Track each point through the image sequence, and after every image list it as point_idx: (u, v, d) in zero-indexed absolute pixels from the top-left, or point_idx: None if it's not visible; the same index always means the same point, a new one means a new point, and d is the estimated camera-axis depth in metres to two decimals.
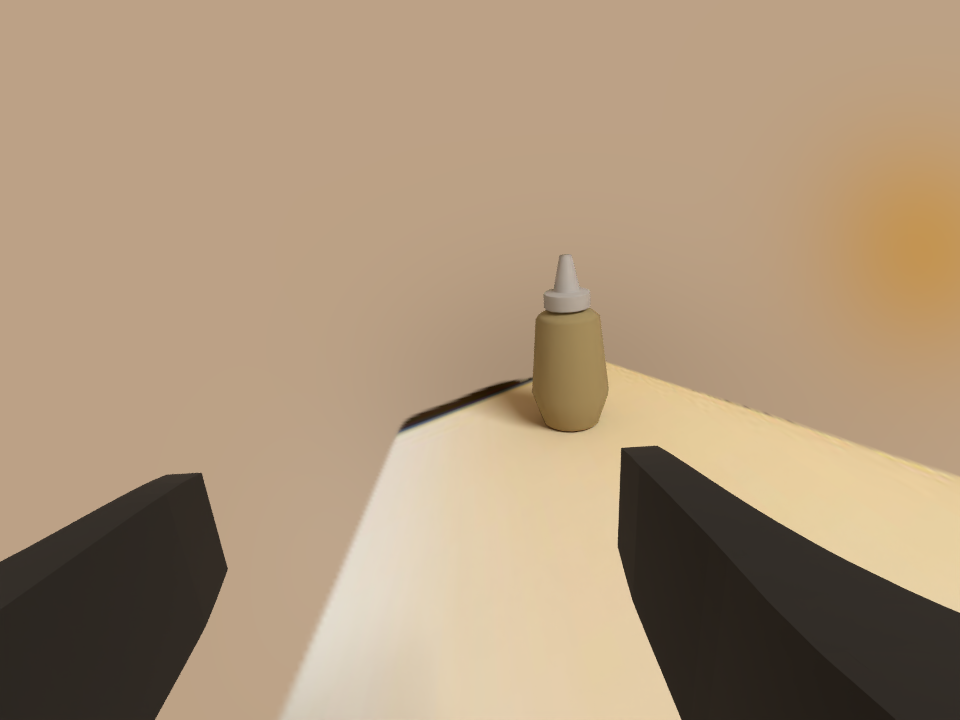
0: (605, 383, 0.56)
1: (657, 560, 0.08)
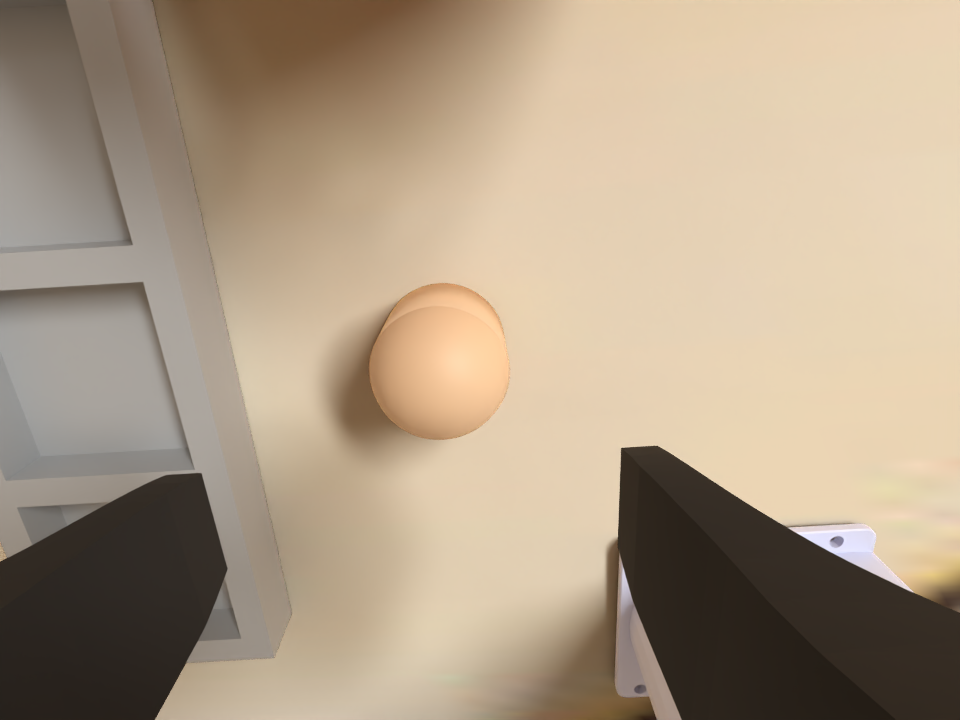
0: None
1: (657, 560, 0.08)
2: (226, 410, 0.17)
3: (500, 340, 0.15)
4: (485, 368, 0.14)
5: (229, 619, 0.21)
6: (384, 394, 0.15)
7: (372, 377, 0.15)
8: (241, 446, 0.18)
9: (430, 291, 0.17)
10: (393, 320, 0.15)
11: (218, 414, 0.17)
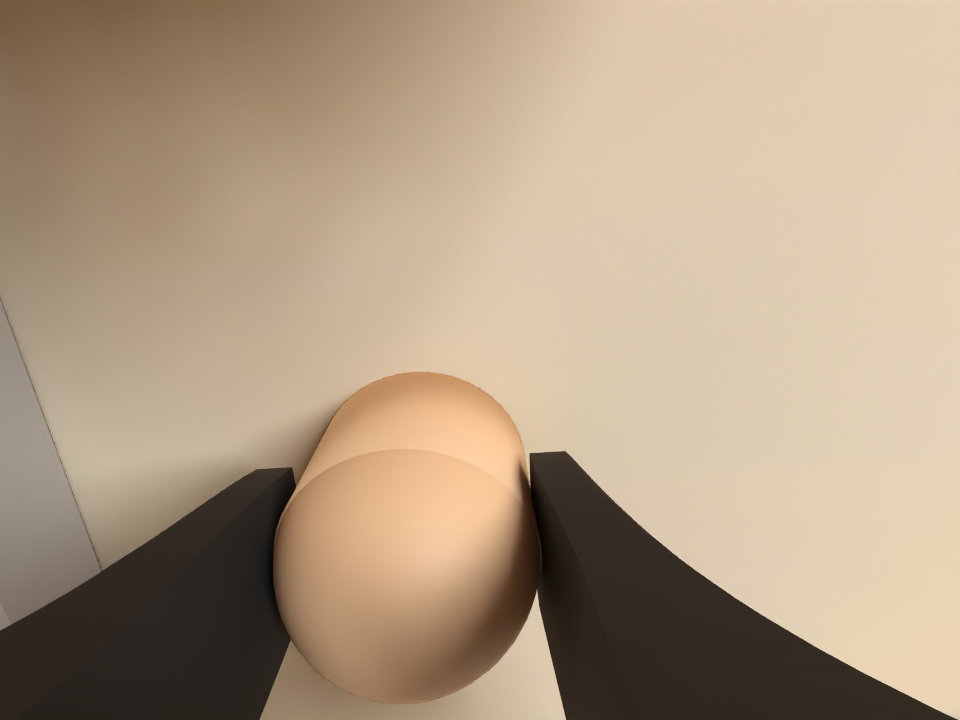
0: None
1: (548, 566, 0.08)
2: (47, 591, 0.10)
3: (525, 508, 0.08)
4: (497, 586, 0.07)
5: None
6: (293, 632, 0.07)
7: (274, 586, 0.08)
8: None
9: (395, 396, 0.09)
10: (316, 473, 0.08)
11: (23, 608, 0.10)
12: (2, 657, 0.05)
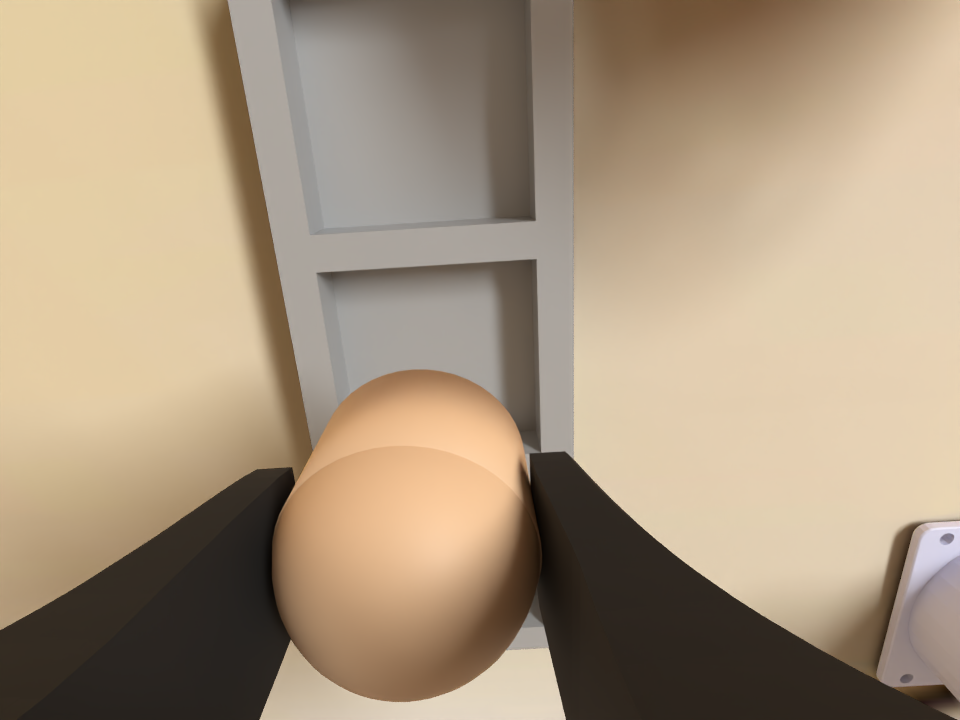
0: None
1: (548, 567, 0.08)
2: None
3: (525, 505, 0.08)
4: (497, 583, 0.07)
5: None
6: (292, 630, 0.07)
7: (273, 584, 0.08)
8: None
9: (394, 393, 0.09)
10: (315, 470, 0.08)
11: None
12: (2, 656, 0.05)
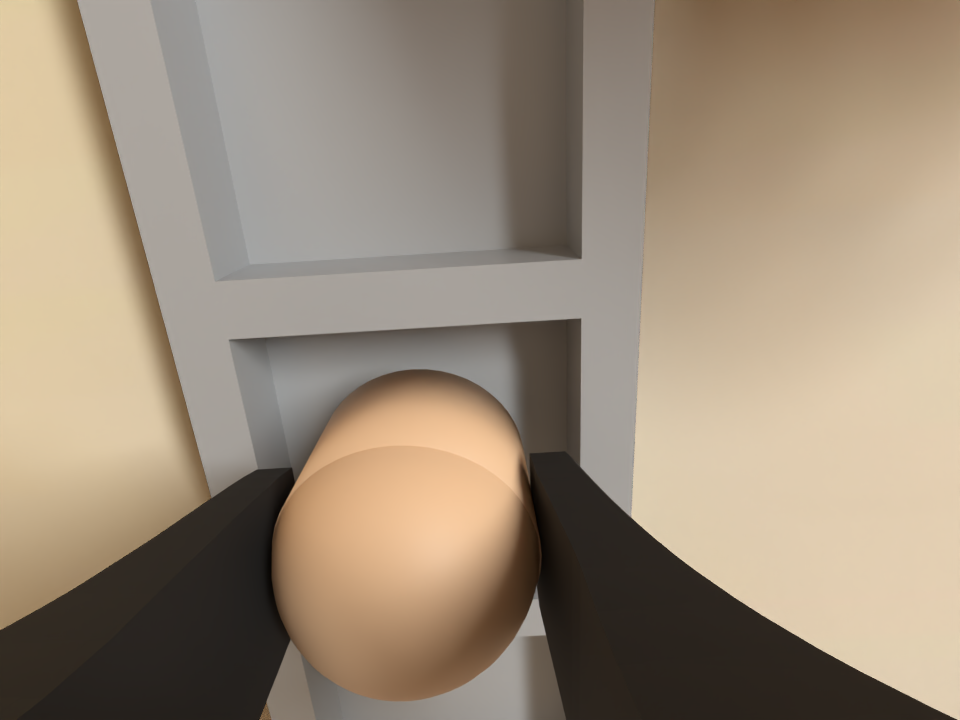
0: None
1: (549, 567, 0.08)
2: None
3: (524, 505, 0.08)
4: (496, 583, 0.07)
5: None
6: (291, 630, 0.07)
7: (273, 583, 0.08)
8: None
9: (394, 393, 0.09)
10: (315, 470, 0.08)
11: None
12: (2, 657, 0.05)
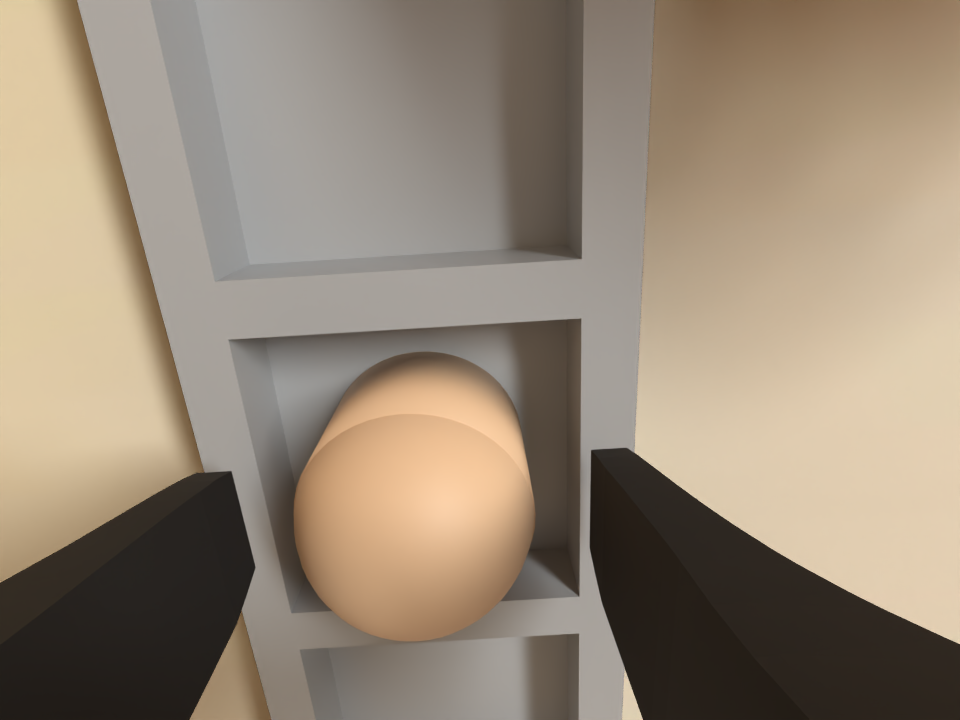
0: None
1: (621, 562, 0.08)
2: None
3: (520, 468, 0.09)
4: (495, 533, 0.08)
5: None
6: (313, 576, 0.08)
7: (295, 537, 0.09)
8: None
9: (402, 371, 0.10)
10: (332, 436, 0.09)
11: None
12: None
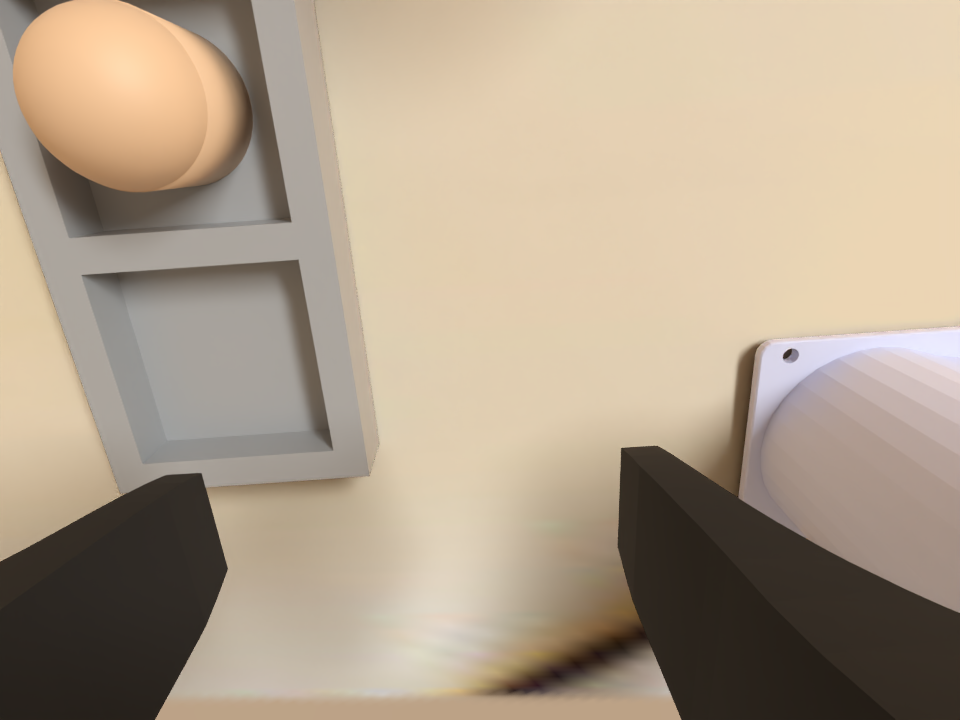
0: None
1: (657, 560, 0.08)
2: (326, 156, 0.15)
3: (186, 50, 0.12)
4: (143, 64, 0.11)
5: (315, 438, 0.18)
6: (21, 104, 0.11)
7: None
8: (338, 212, 0.16)
9: None
10: None
11: (321, 151, 0.14)
12: None
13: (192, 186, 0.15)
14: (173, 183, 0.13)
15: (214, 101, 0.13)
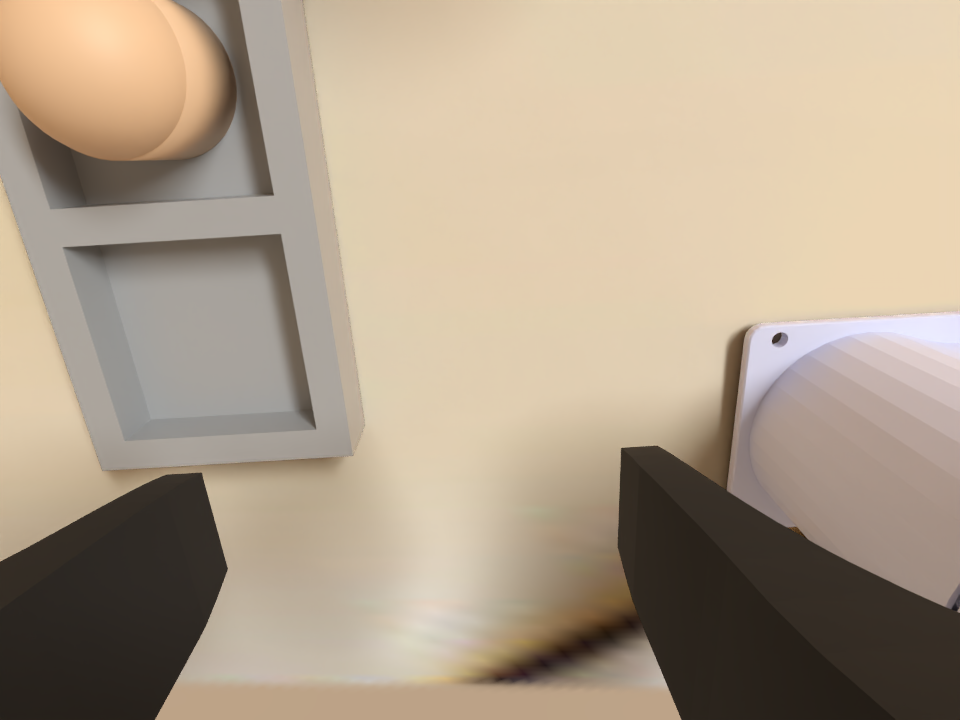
0: None
1: (657, 560, 0.08)
2: (310, 129, 0.15)
3: (164, 15, 0.12)
4: (119, 26, 0.11)
5: (299, 417, 0.18)
6: None
7: None
8: (322, 188, 0.16)
9: None
10: None
11: (303, 124, 0.14)
12: None
13: (175, 159, 0.15)
14: (152, 152, 0.13)
15: (194, 69, 0.13)
